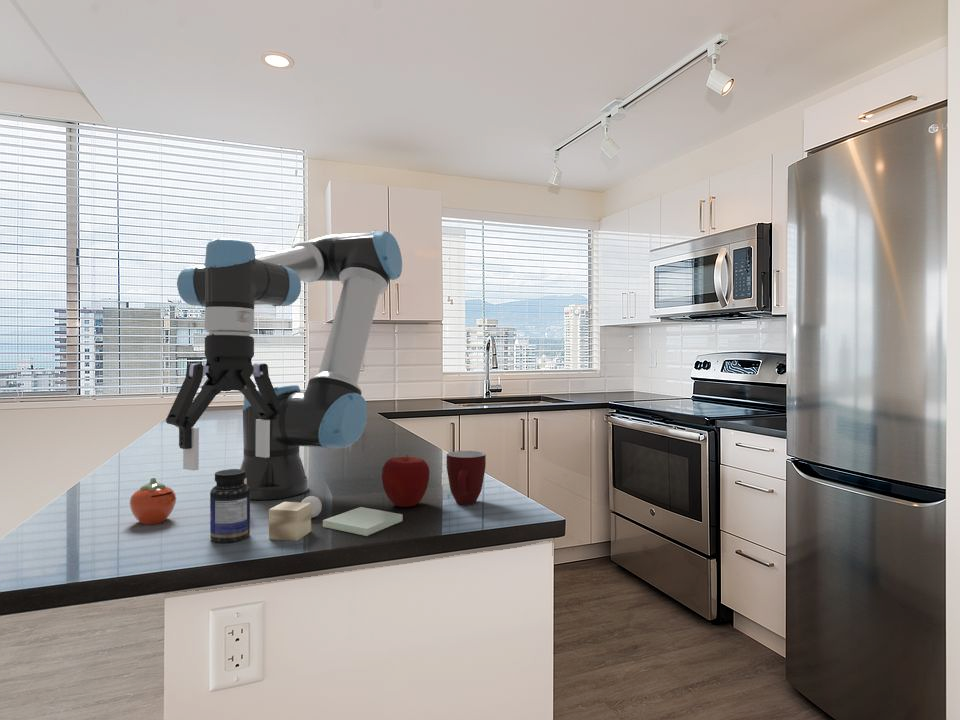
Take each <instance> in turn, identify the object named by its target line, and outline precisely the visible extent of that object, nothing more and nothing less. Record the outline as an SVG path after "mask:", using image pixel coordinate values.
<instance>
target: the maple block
mask: <svg viewBox="0 0 960 720" xmlns="http://www.w3.org/2000/svg"><path fill="white" fill-rule="evenodd" d="M311 532H312V518H311V503H301V502H298V501H297V502H296V501H283V502H281V503H279V504H276V505H275V506H272V507H271V508H268V539H269V540H277V541H294V542H295V541H296V542H298V541H299V540H300V539H302V538H303V537H305V536H306V535H308V534H310V533H311Z"/></svg>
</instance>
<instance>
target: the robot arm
mask: <svg viewBox="0 0 960 720" xmlns="http://www.w3.org/2000/svg"><path fill="white" fill-rule="evenodd" d="M205 249H206V250H205V260H204V264H203V265H199V264H198V265H195V266H189V267H188V266H187V267H185V268H184V269H182V270H181V272H180V273H179V274H178V276H177V279H176V280H177V281H176V287H177V291H178V292H177V293H178V295H179V297H180V298H181V299H182V300H183V302H184V303H185V304H188V305H190V306H195V307H196V306H198V307H202V308H203V307H204V331H205V332H206V333H208V334H207V335H206V336H205V337H204V356H205V360H206V361H205V362H206V363H205V365H204V364H202V363H188V364H187V365H186V369H185V378H184V380H183V383H182V385H181V386H180V388H179V390H178V393H177V395H176V397H175V399H174V402H172V405H171V409H170V410H169V412H168V415H167V417H166V419H165V422H166V424H168V425H172V426H175V428H178V446H179V448H180V449H181V450H183V451H182V453H183V454H182V461H183V462H182V469H183V470H188V471H192V472H193V471H199V467H200V466H199V464H200V462H199V461H200V459H199V456H200V455H199V454H200V453H199V451H200V450H199V449H200V448H199V445H200V437H199V436H200V435H199V433H200V428H199V427H194V426H195V425H196V424H197V422H198V421H199V419H200V418H201V416H203V414H204V413H205V411H206V410H207V409H208V407H209V405H210V404H211V403H212V401H213V400H214V399H215V397H216V396H217V395H219V394H220V393H221V392H230V391H237V392H238V391H239V392H240V393H242V395H243V396H244V397H243V407H242V424H243V425H242V428H243V429H242V430H243V431H242V433H243V434H242V435H243V437H242V438H243V459H242V462H241V466H240V468H239V469H241V470H245V476H246V477H245V478H247V485H248V486H249V488H250V500H252V501H253V500H255V501H258V500H259V501H260V500H261V501H263V500H264V501H266V500H277V499H279V500H280V499H286V498H290V497H295V496H298V495H302V494H304V493H306V492H307V491H309V490H308V487H309V481H308V477H307V475H306V471H305V468H304V465H303V461H302V458H301V455H300V454H301V453H300V452H301V451H300V448H301V447H306V448H307V447H310V448H323V449H327V450H329V449H331V450H333V449H345V448H349V447H351V446H352V445H353V444H355V443H356V442H357V441H358V440H359V439H360V437H361V436H362V434H363V433H364V431H365V427H366V424H367V418H368V412H367V410H368V405H367V404H368V403H367V402H366V399H365V398H364V397H363V395H362V394H363V391H362V389H361V388H360V386H359V385H358V380H359V378H360V373H361V369H362V366H363V362H364V361H363V360H364V358H365V357H364V356H365V353H366V350H367V345H368V341H369V338H370V332H371V328H372V325H373V321H374V317H375V314H376V313H375V312H376V309H377V304H378V300H379V296H381V295H383V294H384V293H386V292H387V290H388V287H389V283H390V280H391V281H394V280H397V279H398V278H400V277H401V275H402V270H403V259H402V257H403V256H402V253H401V250H400V249H401V248H400V246H399V244H398V241H397V239H396V238H395V236H394V235H393V234H392V233H391V232H389V231H385V230H379V231H377V230H372V231H367V232H366V231H364V232H363V231H362V232H344V233H332V234H327V235H323V236H320V237H316V238H313V239H309V240H306V241H301V242H297V243H295V244H293V246H292V247H291V248H289V249H283V250H279V251H274V252H269V253H264V254H260V255H259V254H258V255H256V252H255V251H256V249H255V246H254V245H253V244H252V243H251V242H248V241H245V240H241V239H235V238H217V239H213V240H210V241H208V242H207V244H206V248H205ZM317 281H318V282H322V281H326V282H334V281H335V282H336V281H337V282H340V283H341V284H342V285H343V286H342V288H341V292H340V296H339V300H338V303H337V306H336V309H335V313H334V317H333V321H332V323H331V326H330V331H329V335H328V338H327V340H326V341H327V342H326V345H325V349H324V353H323V355H322V360H321V363H320V367H319V370H318V374H316V375H314V376H312V377H310V378H309V379H308V382H307V385H306V390H305V391H301V389H300V386H299V385H297V384H295V385H294V384H293V385H292V384H291V385H282V386H277V387H275V386H273V383H272V381H271V378H270V376H269V366H268V365H269V364H267V363H260V362H259V363H257V362H256V363H254V364H253V362H252V359H253V358H254V356H255V338H254V337H253V336H251V334H253V333H254V332H255V305H256V306H257V305H258V306H259V305H260V306H261V305H262V306H263V305H269V306H272V307H287V306H291V305H292V304H293V303H295V302H296V301H297V300H298V298H299V297H300V294H301V290H302V282H303V283H306V284H307V283H308V284H309V283H313V282H317ZM205 376H206V378H207V379H206V380H205V381H204V383H203V385H202V386H201V384H202V381H203V378H204V377H205ZM251 376H253V379H254V381H253V380H252V378H251ZM254 382H255V383H254ZM200 386H201V387H200ZM199 388H200V391H199ZM198 391H199V392H198ZM197 393H198V394H197Z"/></svg>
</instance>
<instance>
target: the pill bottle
mask: <svg viewBox="0 0 960 720" xmlns="http://www.w3.org/2000/svg"><path fill="white" fill-rule="evenodd" d="M245 477H246V476H245V470H241V469H240V468H232V469H231V468H230V469H222V470H218V471H216V472H215V473H214V481H215V483H216V485H215V486H213V487H212V489H211V490H210V492H209V497H210V499H209V516H210V517H209V518H210V521H209V524H210V525H209V526H210V527H209V529H210V531H209V534H210V535H209V536H210V540H211V541H213V542H215V543H221V544H223V543H225V544H226V543H234V542H240V541H242V540H245V539H246V538H247V537H249V536H250V534H251V499H250V488H249V486H248V485H247V484H244V479H245Z"/></svg>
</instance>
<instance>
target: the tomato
mask: <svg viewBox="0 0 960 720" xmlns="http://www.w3.org/2000/svg"><path fill="white" fill-rule="evenodd" d="M176 502H177V495H176V492H175V491H174V489H172V488H171V487H168V486H167V485H165V484H164V483H162V482H159V481H157V479H156V477H151V478H150V480H149V483H146V484H143V485H142V486H140V488H139V489H138V490H136V491H134V492H133V493H132V495H130V499H129V508H130V511H131V513H132V515H133V517H134V518H135V519H136V521H137V522H139V523H141V524H143V525H147V526H148V525H157V524H162V523H163V522H165V521H166V520H167V519H168V518H169V516H171V514H172V513H173V510H174V509H175V506H176Z"/></svg>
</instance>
